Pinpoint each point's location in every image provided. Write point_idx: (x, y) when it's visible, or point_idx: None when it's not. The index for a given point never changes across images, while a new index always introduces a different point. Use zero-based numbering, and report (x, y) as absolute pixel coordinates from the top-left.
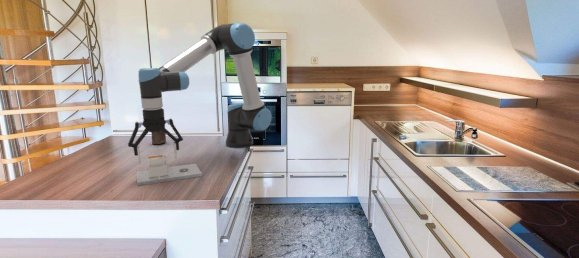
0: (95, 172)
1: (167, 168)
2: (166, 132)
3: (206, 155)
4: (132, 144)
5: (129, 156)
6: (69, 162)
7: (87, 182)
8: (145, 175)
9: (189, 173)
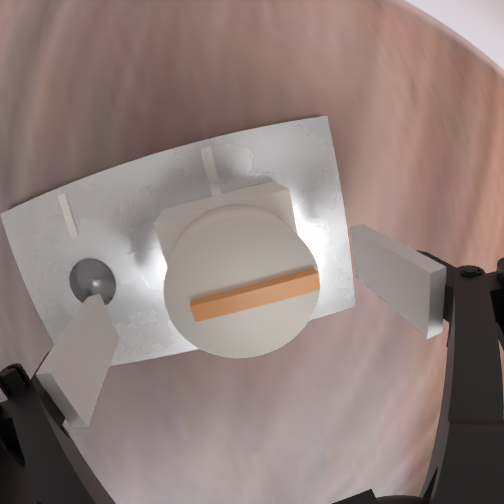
0: None
1: (157, 219)
2: (68, 500)
3: (86, 462)
4: (498, 286)
5: (371, 467)
6: None
7: (493, 227)
8: (301, 229)
9: (51, 220)
